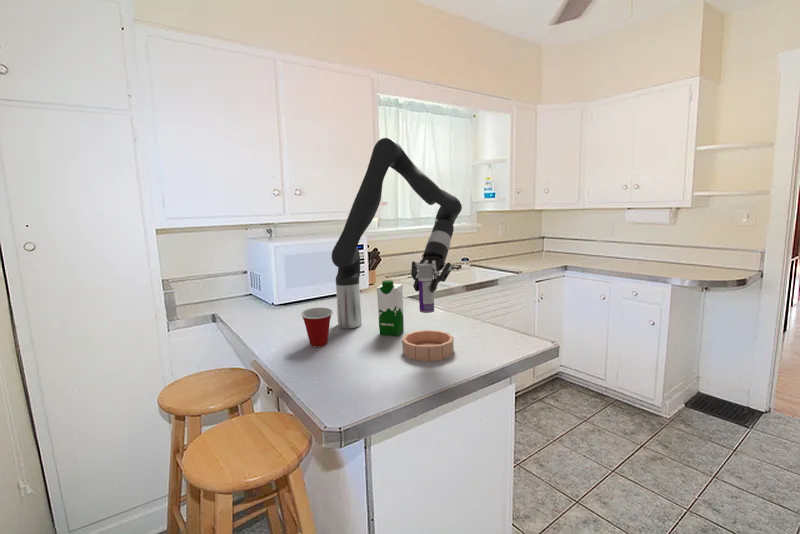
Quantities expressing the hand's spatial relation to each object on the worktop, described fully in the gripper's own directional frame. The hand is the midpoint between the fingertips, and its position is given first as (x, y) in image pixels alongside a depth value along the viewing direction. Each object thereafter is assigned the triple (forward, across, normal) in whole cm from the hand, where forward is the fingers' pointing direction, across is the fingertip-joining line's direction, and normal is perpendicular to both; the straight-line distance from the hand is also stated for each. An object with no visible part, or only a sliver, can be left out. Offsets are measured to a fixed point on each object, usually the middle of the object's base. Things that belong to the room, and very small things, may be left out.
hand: (423, 290), depth 125 cm
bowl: (+13, 0, +16) cm, 21 cm away
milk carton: (+5, -20, +25) cm, 33 cm away
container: (+4, 0, +6) cm, 8 cm away
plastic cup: (+19, -38, +10) cm, 44 cm away
